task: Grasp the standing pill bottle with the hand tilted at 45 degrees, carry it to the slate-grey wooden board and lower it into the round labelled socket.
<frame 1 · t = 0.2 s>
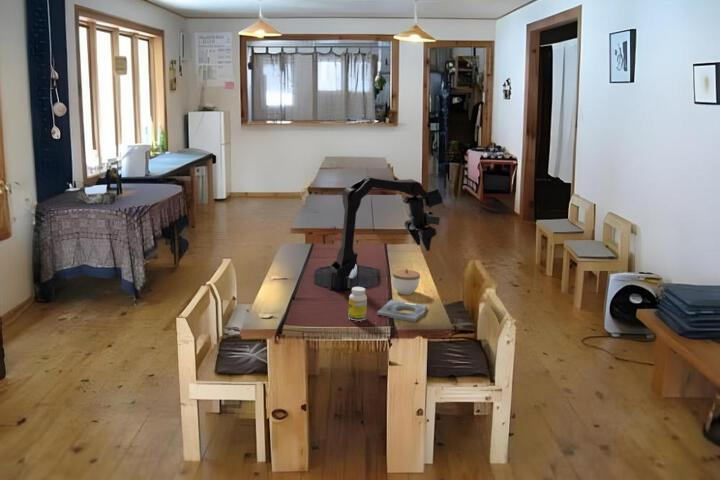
hand: (423, 248, 304), 15 cm above the table, tool pointing down, fingers open, 9 cm apart
socket board: (402, 311, 274), on the table
pill bottle: (356, 319, 264), on the table
lidded jar: (404, 292, 297), on the table
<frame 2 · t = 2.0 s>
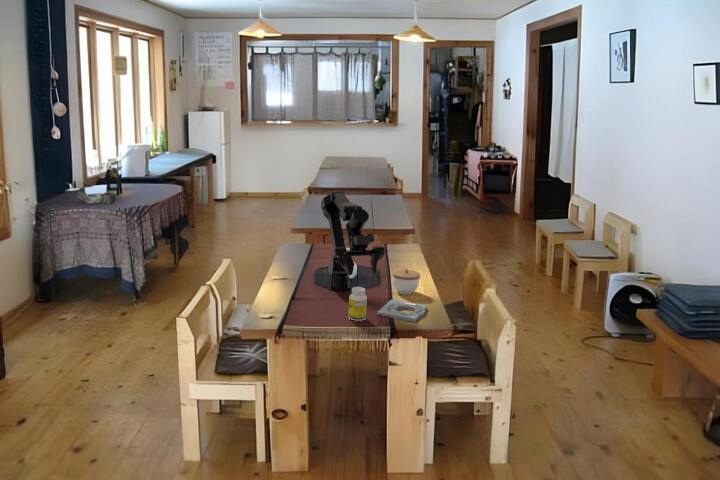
hand: (362, 274, 269), 14 cm above the table, tool tilted 45°, fingers open, 9 cm apart
nothing on the table moved.
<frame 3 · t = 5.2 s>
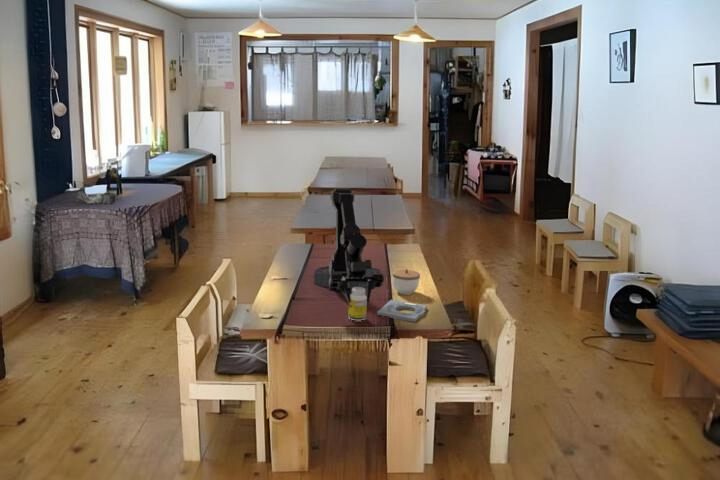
hand: (358, 302, 261), 7 cm above the table, tool tilted 45°, fingers closed on pill bottle, 6 cm apart
pill bottle: (356, 319, 264), on the table, touching gripper
everything else where it was.
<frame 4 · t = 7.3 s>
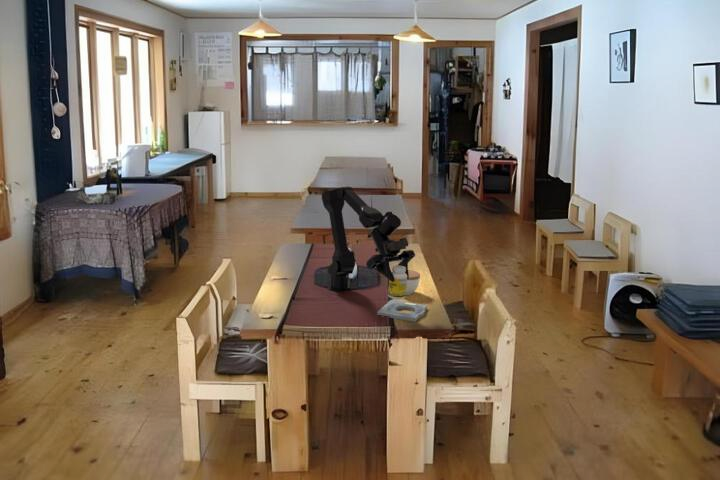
hand: (400, 280, 266), 13 cm above the table, tool tilted 45°, fingers closed on pill bottle, 6 cm apart
pill bottle: (396, 297, 269), point 6 cm above the table, touching gripper
everything else where it was.
when the fingers open (8 cm above the table, at t = 9.4 s): pill bottle drops 1 cm, resting in socket board.
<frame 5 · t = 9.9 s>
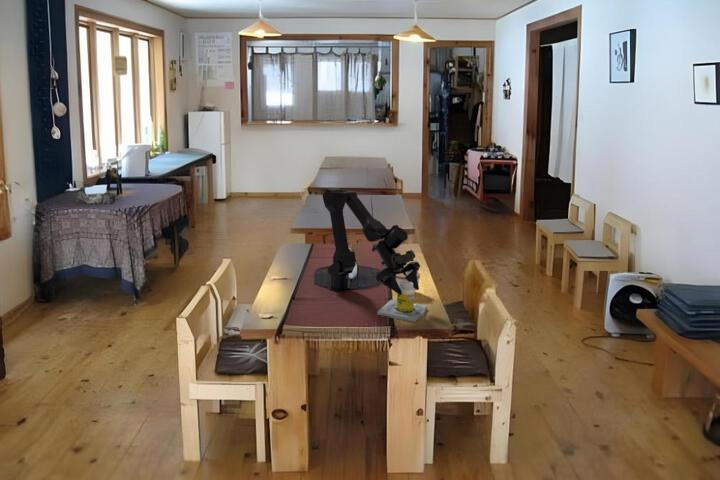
hand: (409, 292, 271), 8 cm above the table, tool tilted 45°, fingers open, 9 cm apart
pill bottle: (404, 312, 274), resting in socket board
everything else where it was.
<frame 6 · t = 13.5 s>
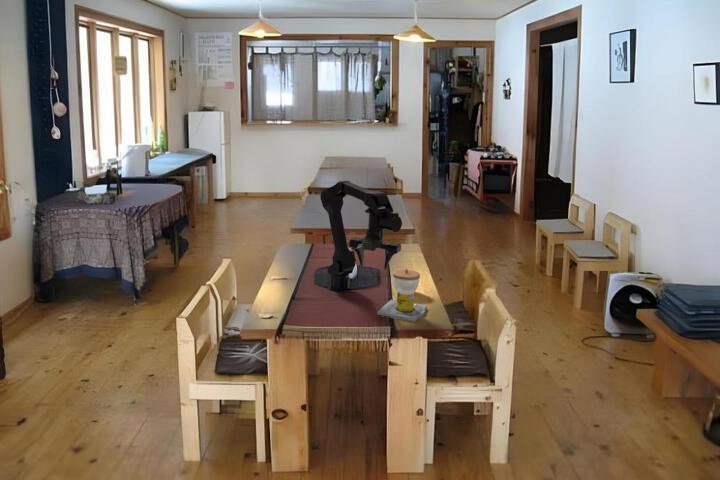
hand: (373, 267, 281), 13 cm above the table, tool pointing down, fingers open, 9 cm apart
nothing on the table moved.
at the end: pill bottle 0.2 cm from the target spot on the socket board, point 0.0 cm above the socket board's base; pill bottle tilted 0°; the gripper is holding nothing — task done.
